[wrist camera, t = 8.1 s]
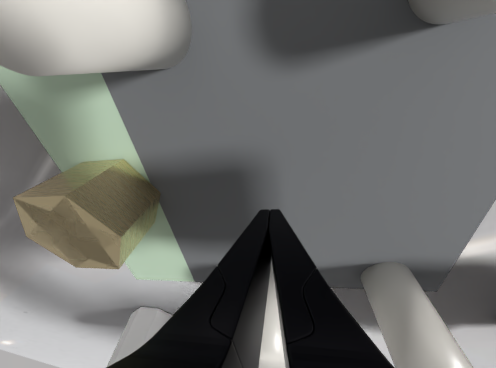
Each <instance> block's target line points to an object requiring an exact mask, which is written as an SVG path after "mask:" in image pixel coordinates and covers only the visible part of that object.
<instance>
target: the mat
mask: <svg viewBox="0 0 496 368" xmlns="http://www.w3.org/2000/svg"><path fill="white" fill-rule="evenodd" d="M186 3H187V6H188V9H189V13H190V17H191V25H192V36H191V42H190V46H189V49H188V51H187V53H186V55H185V57H184V58H183V59H182V61H181V62H179V63H178V64H177V65H175V66H174V67H171V68H168V69H157V70H140V71H123V72H106V73H88V74H71V75H54V76H29V75H24V74H20V73H17V72H14V71H12V70H9V69H7V68H5V67H3V66H1V65H0V85H1V86H2V88H3V89H4V90H5V92H6V93H7V95H8V96H9V98H10V99H11V101H12V102H13V103H14V105H15V106H16V108H17V109H18V111H19V112H20V113H21V115H22V116H23V118H24V119H25V121H26V122H27V123H28V125H29V126H30V128H31V129H32V131H33V132H34V133H35V135H36V136H37V138H38V139H39V141H40V142H41V143H42V145H43V146H44V148H45V149H46V151H47V152H48V153H49V155H50V156H51V158H52V159H53V161H54V162H55V163H56V165H57V166H58V168H59V169H60V171H61V172H64V171H66V170H68V169H70V168H72V167H74V166H76V165H78V164H80V163H82V162H87V161H102V160H116V159H124V160H126V161H127V162H128V163H129V164H130V165H131V166H132V167H133V168H134V169H135V170H136V171H137V172H139V173H140V174H141V175H142V176H143V177H144V178H145V179H146V180H147V181H148V182H149V183H150V184H152V185H153V186H154V187H155V188H156V189H157V190H158V191H159V192H160V193H161V195H160V200H159V204H158V209H157V214H156V219H155V223H154V224H153V225H152V227H151V228H150V229H149V231H148V232H147V233H146V235H145V236H144V237H143V238H142V240H141V241H140V242H139V244H138V245H137V246H136V248H135V249H134V250H133V251H132V253H131V254H130V255H129V257H128V258H127V259H126V261H125V264H126V265H127V267H128V268H129V269H130V271H131V272H132V274H133V275H134V277H135V278H136V279H140V280H166V281H191V282H204V281H205V280H206V279H207V277H208V276H209V275H210V274H211V272H212V271H213V270H214V268H215V267H216V266H218V263H219V262H220V261H221V260H222V258H223V257H224V256H225V254H226V253H227V252H228V251H229V249H230V248H231V247H232V245H233V244H234V243H235V242H236V240H237V239H238V238H239V236H240V235H241V234H242V232H243V231H244V230H245V229H246V227H247V226H248V225H249V223H250V222H251V221H252V220H253V218H254V217H255V216H256V214H257V213H258V212H259V211H260V210H261V209H269V210H271V209H280V210H281V212H282V213H283V215H284V217H285V218H286V220H287V221H288V223H289V224H290V226H291V228H292V229H293V231H294V232H295V234H296V235H297V237H298V239H299V240H300V242H301V243H302V245H303V246H304V248H305V249H306V251H307V253H308V254H309V256H310V257H311V259H312V260H313V262H314V264H315V265H316V267H317V269H318V270H319V271H320V273H321V274H322V276H323V278H324V279H325V281H326V282H327V283H328V285H329V286H330V287H332V288H358V289H364V287H363V284H362V282H361V274H362V273H363V271H364V270H365V269H367V268H368V267H370V266H372V265H375V264H378V263H383V262H395V263H400V264H403V265H405V266H407V267H408V268H409V269H410V271H411V272H412V274H413V275H414V277H415V278H416V280H417V281H418V283H419V285H420V286H421V288H422V289H423V291H434V292H437V290H438V289H439V287H440V286H441V284H442V283H443V281H444V279H445V278H446V276H447V275H448V273H449V272H450V270H451V269H452V267H453V265H454V264H455V262H456V261H457V259H458V258H459V256H460V255H461V253H462V251H463V250H464V248H465V247H466V245H467V244H468V242H469V241H470V239H471V237H472V236H473V234H474V233H475V231H476V230H477V228H478V226H479V225H480V223H481V222H482V220H483V219H484V217H485V216H486V214H487V212H488V211H489V209H490V208H491V206H492V205H493V203H494V202H495V200H496V13H492V14H488V15H483V16H479V17H475V18H470V19H466V20H462V21H457V22H453V23H448V24H440V25H439V24H431V23H427V22H425V21H423V20H421V19H420V18H418V17H417V16H416V15H415V13H414V12H413V11H412V9H411V7H410V4H409V2H408V0H186ZM271 261H272V259H271Z"/></svg>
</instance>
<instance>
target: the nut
mask: <svg viewBox="0 0 496 368" xmlns="http://www.w3.org/2000/svg"><path fill="white" fill-rule="evenodd" d="M160 195H161V193H160V192H159V191H158V190H157V189H156V188H155V187H154V186H153V185H152V184H150V183H149V182H148V181H147V180H146V179H145V178H144V177H143V176H142V175H141V174H140V173H139V172H137V171H136V170H135V169H134V168H133V167H132V166H131V165H130V164H129V163H128V162H127V161H126V160H124V159H116V160H102V161H87V162H82V163H80V164H78V165H76V166H74V167H72V168H70V169H68V170H66V171H64V172H62V173H60V174H58V175H56V176H54V177H52V178H50V179H48V180H46V181H45V182H43V183H41V184H39V185H37V186H35V187H33V188H31V189H29V190H27V191H25V192H23V193H21V194H19V195H17V196H15V197H13V200H14V203H15V206H16V208H17V211H18V214H19V217H20V220H21V223H22V225H23V228H24V231H25V234H26V237H28V238H29V239H31V240H33V241H34V242H36V243H37V244H39V245H41V246H42V247H44V248H45V249H47V250H49V251H50V252H52V253H54V254H55V255H57V256H58V257H60V258H62V259H63V260H65V261H67V262H68V263H70V264H71V265H73V266H75V267H79V268H104V269H119V268H120V267H121V266H122V265H123V263H124V262H125V261H126V259H127V258H128V257H129V255H130V254H131V253H132V251H133V250H134V249H135V248H136V246H137V245H138V244H139V242H140V241H141V240H142V238H143V237H144V236H145V235H146V233H147V232H148V231H149V229H150V228H151V227H152V225H153V224H154V223H155V219H156V214H157V209H158V204H159V200H160Z"/></svg>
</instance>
